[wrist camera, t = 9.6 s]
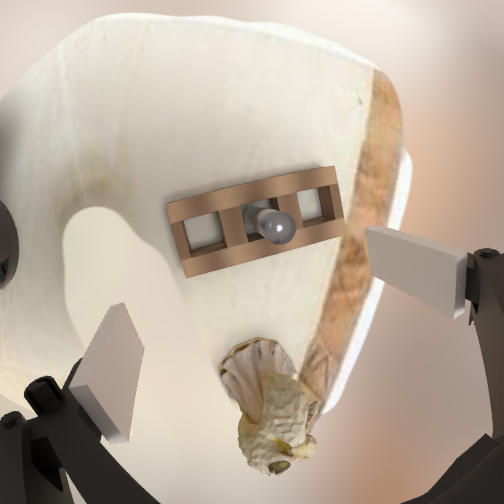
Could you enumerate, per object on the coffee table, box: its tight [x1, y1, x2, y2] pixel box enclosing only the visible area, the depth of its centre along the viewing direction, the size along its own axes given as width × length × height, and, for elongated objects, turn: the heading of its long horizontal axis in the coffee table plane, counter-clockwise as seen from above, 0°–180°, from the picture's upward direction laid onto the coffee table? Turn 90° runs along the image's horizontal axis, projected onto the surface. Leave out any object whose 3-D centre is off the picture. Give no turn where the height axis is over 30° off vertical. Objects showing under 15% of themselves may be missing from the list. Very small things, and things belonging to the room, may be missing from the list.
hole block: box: [166, 166, 346, 278], centre depth 37 cm, size 21×9×4 cm, turn 103°
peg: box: [244, 205, 296, 245], centre depth 33 cm, size 3×3×12 cm
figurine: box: [218, 337, 318, 476], centre depth 34 cm, size 12×12×20 cm
